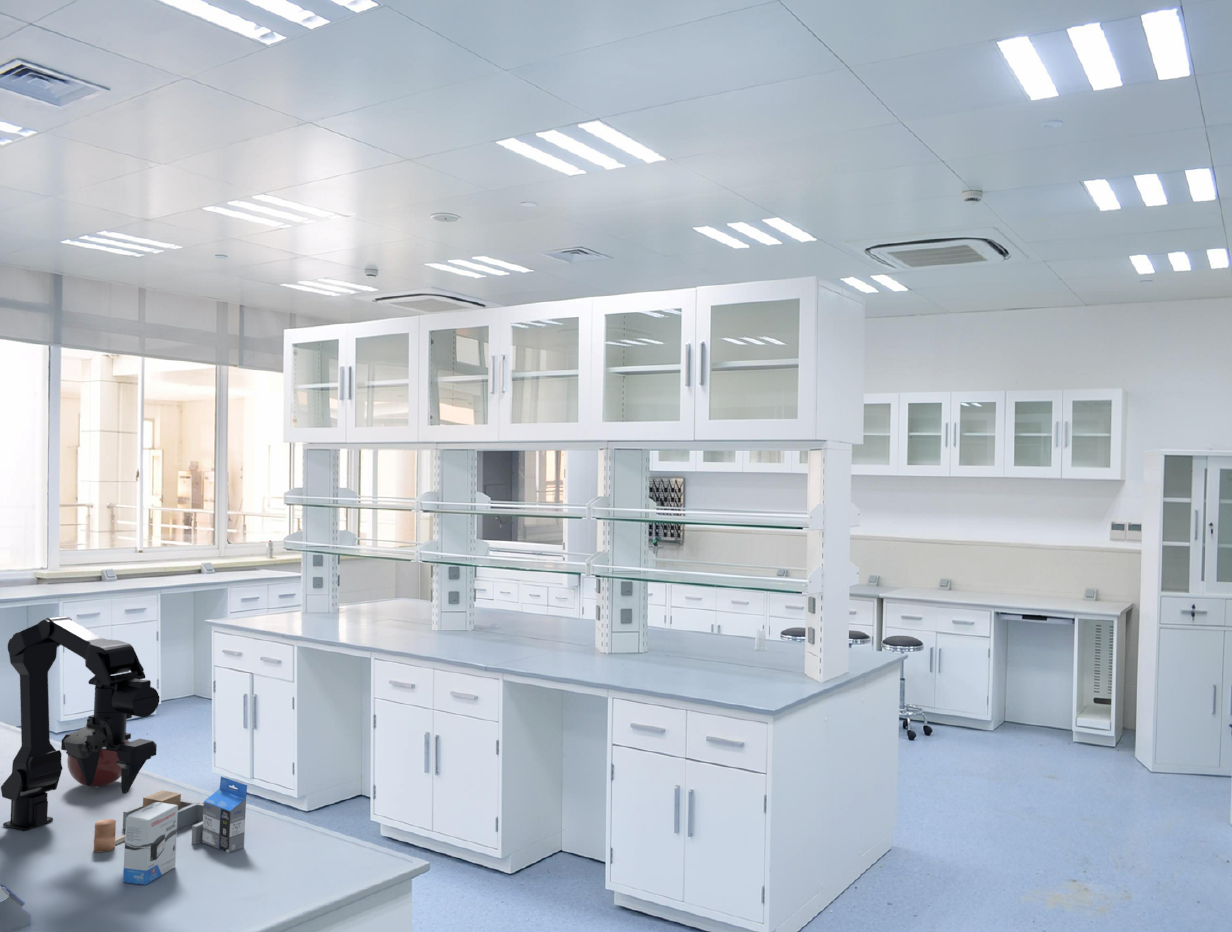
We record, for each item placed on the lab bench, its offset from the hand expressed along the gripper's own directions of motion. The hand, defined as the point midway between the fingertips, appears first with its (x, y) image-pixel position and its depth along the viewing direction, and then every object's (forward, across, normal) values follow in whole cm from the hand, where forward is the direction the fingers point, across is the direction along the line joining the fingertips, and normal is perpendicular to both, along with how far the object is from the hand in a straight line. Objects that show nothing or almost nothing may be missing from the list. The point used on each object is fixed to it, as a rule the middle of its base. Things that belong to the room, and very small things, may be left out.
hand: (106, 789), depth 182 cm
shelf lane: (+11, +5, +14) cm, 19 cm away
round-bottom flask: (+12, -31, +26) cm, 42 cm away
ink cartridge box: (+12, +19, +11) cm, 25 cm away
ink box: (+12, +17, -5) cm, 21 cm away
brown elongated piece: (+11, 0, +7) cm, 13 cm away
